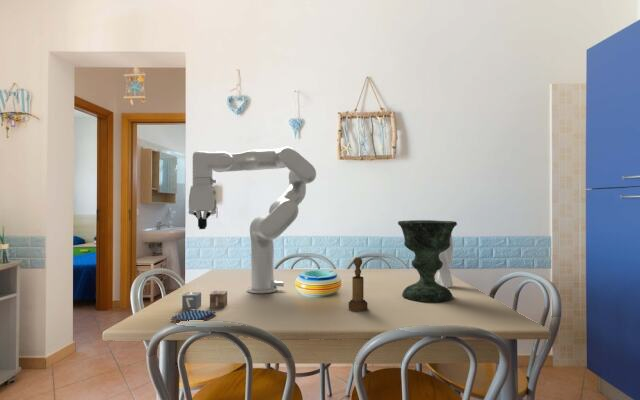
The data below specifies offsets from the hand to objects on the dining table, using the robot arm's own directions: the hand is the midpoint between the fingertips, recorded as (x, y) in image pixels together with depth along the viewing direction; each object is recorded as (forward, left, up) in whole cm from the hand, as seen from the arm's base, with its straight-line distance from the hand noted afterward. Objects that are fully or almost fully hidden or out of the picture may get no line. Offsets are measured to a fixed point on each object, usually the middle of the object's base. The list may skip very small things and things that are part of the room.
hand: (202, 228), depth 150 cm
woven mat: (-6, +28, -28) cm, 40 cm away
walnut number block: (-10, +13, -27) cm, 32 cm away
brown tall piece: (-60, +17, -27) cm, 68 cm away
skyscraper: (-102, -20, -28) cm, 108 cm away
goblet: (-89, 0, -27) cm, 93 cm away
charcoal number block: (-1, +15, -27) cm, 31 cm away
